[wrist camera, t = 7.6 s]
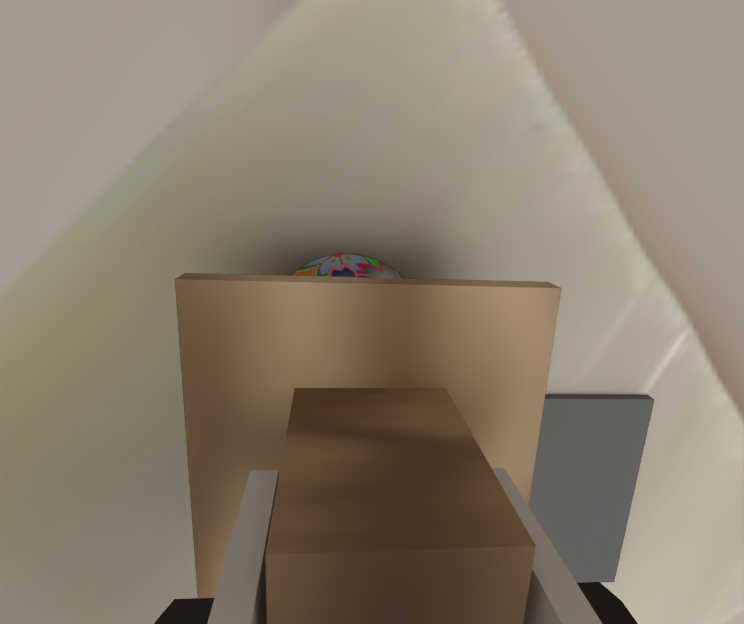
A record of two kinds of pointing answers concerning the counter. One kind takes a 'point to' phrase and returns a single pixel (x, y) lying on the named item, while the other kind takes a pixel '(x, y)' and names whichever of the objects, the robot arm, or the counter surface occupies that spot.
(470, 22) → the counter surface
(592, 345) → the counter surface
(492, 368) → the lid
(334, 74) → the counter surface
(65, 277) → the counter surface
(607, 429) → the mat
